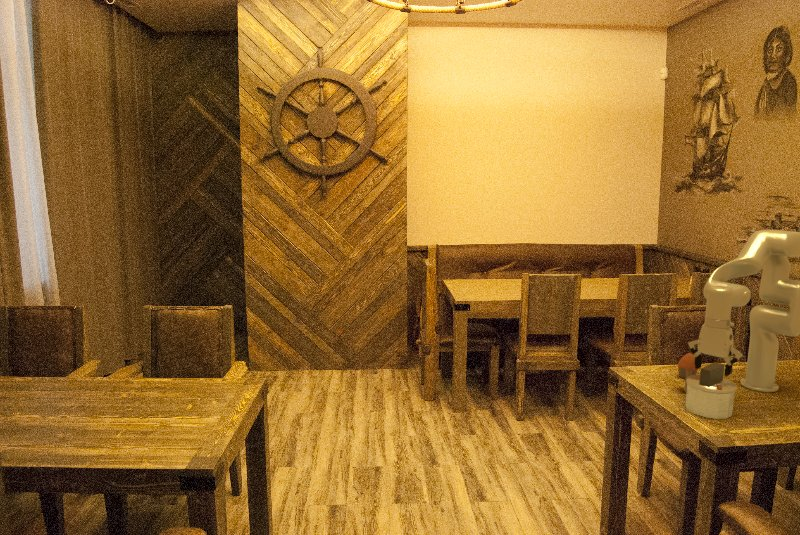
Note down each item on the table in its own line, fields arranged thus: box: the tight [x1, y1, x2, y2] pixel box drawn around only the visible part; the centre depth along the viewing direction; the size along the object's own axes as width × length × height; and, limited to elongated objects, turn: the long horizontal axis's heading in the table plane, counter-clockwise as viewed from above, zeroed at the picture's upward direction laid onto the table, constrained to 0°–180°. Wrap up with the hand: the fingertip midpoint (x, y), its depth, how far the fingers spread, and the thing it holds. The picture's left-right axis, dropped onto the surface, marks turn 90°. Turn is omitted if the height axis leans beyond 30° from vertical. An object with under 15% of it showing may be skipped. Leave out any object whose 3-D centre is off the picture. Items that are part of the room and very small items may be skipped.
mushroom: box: [677, 352, 702, 393], centre depth 224 cm, size 8×8×15 cm
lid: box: [685, 361, 737, 394], centre depth 206 cm, size 15×15×8 cm
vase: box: [677, 365, 698, 380], centre depth 239 cm, size 7×7×9 cm
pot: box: [684, 384, 735, 420], centre depth 207 cm, size 14×14×9 cm
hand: (712, 371), depth 205 cm, fingers open, 9 cm apart
